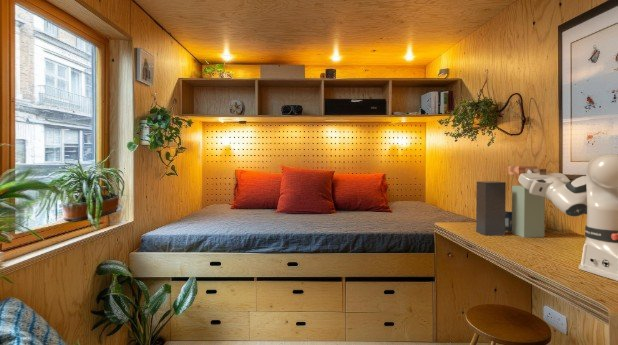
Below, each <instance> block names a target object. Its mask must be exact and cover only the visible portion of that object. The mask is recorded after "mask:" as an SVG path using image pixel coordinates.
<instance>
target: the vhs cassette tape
mask: <svg viewBox="0 0 618 345" xmlns="http://www.w3.org/2000/svg"><path fill="white" fill-rule="evenodd" d="M505 232H510V233H512V211H506V210H505Z"/></svg>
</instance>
